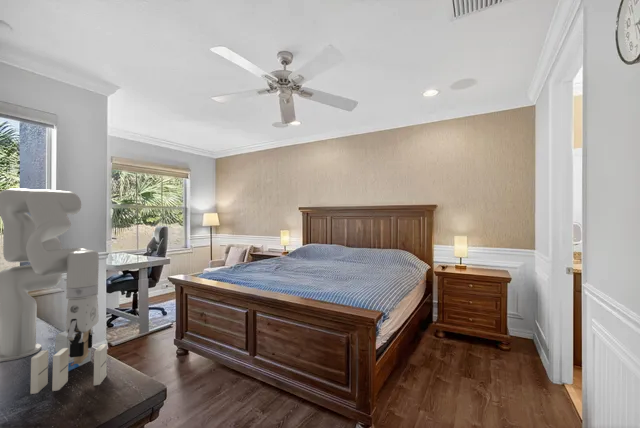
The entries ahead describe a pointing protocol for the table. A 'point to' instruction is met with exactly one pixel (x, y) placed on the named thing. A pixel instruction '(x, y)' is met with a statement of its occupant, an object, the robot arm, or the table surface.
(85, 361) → the ink box
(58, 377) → the domino
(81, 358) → the domino
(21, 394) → the table surface
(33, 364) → the domino
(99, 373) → the domino
